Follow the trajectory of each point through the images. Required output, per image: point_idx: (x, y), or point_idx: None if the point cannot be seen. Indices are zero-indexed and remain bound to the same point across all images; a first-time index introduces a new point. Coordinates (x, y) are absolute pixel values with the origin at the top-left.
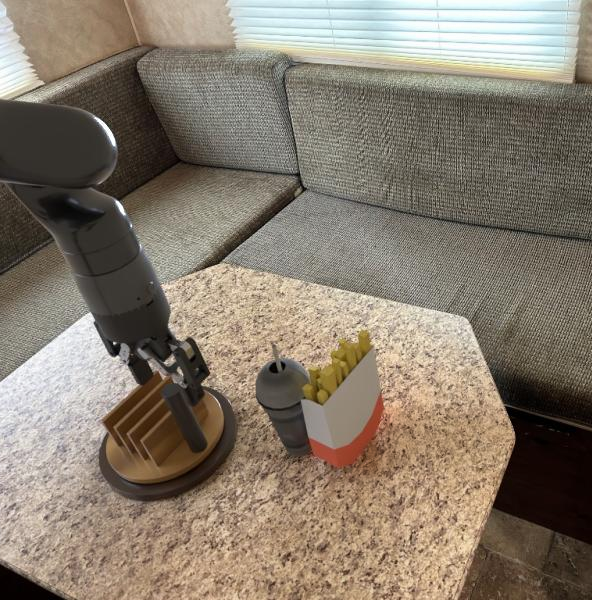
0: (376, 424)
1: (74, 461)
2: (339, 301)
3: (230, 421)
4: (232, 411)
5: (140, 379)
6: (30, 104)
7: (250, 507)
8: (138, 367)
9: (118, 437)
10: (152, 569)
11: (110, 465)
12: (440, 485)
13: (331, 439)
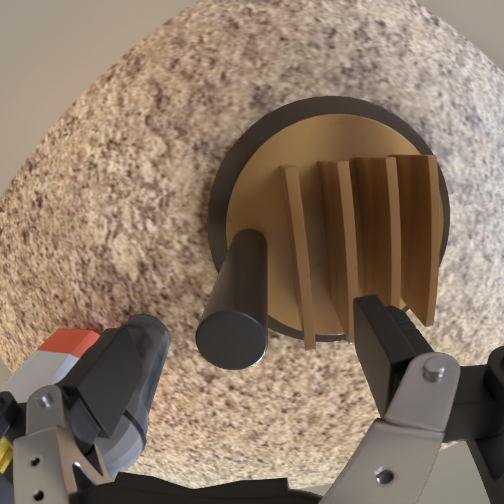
0: None
1: (441, 109)
2: (297, 484)
3: None
4: (274, 328)
5: (361, 318)
6: None
7: (116, 217)
8: (378, 365)
9: (398, 164)
10: (155, 63)
11: None
12: (20, 351)
13: (24, 362)
